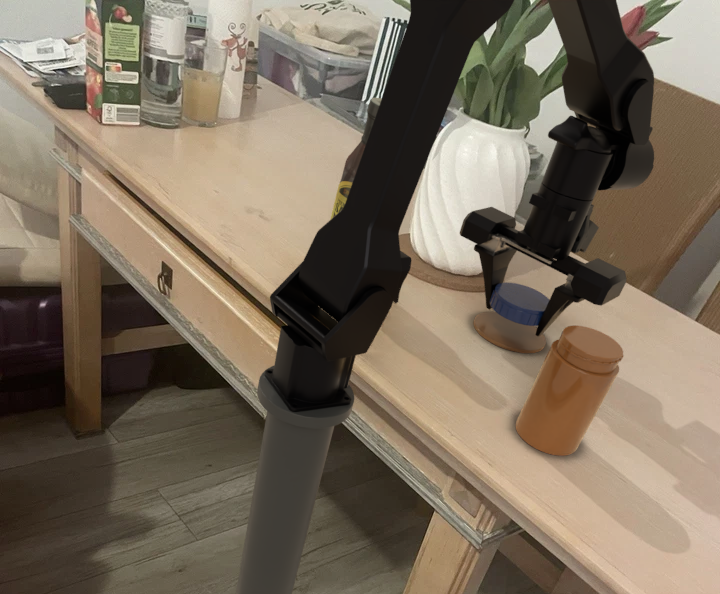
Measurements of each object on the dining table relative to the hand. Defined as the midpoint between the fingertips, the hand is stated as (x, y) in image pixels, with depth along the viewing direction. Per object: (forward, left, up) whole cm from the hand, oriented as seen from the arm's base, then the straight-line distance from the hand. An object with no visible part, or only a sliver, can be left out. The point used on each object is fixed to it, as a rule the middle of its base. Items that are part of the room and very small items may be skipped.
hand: (513, 321), depth 83 cm
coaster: (0, 0, -2) cm, 2 cm away
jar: (-10, -18, -2) cm, 21 cm away
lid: (0, 0, +3) cm, 3 cm away
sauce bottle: (-15, +15, -2) cm, 21 cm away
